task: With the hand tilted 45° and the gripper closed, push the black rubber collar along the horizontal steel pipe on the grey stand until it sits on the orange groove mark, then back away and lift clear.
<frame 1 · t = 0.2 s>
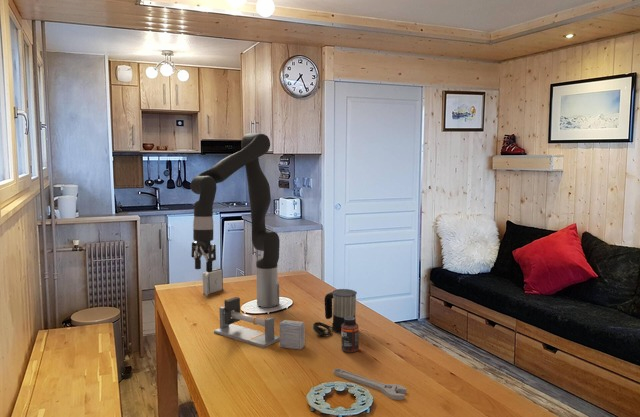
hand: (203, 270, 196), 22 cm above the table, tool pointing down, fingers open, 8 cm apart
supplement bottle: (349, 350, 176), on the table
pipe stand: (246, 336, 189), on the table
collar: (232, 310, 192), point 8 cm above the table, slide at -7.0 cm
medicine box: (292, 347, 179), on the table
adjustable wrench: (370, 385, 151), on the table
grey rectangular block: (212, 292, 246), on the table
milk frother: (335, 332, 193), on the table
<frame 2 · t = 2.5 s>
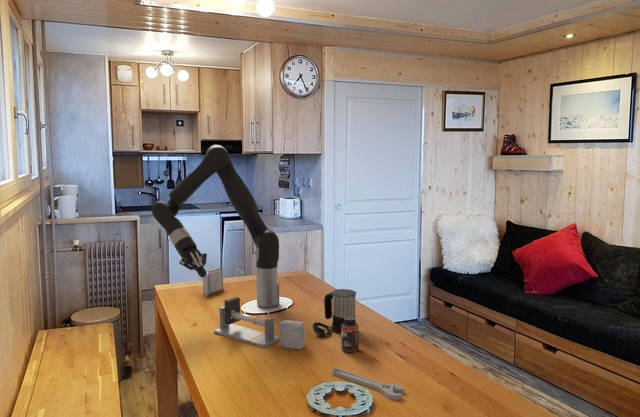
hand: (204, 276, 199), 19 cm above the table, tool tilted 45°, fingers closed
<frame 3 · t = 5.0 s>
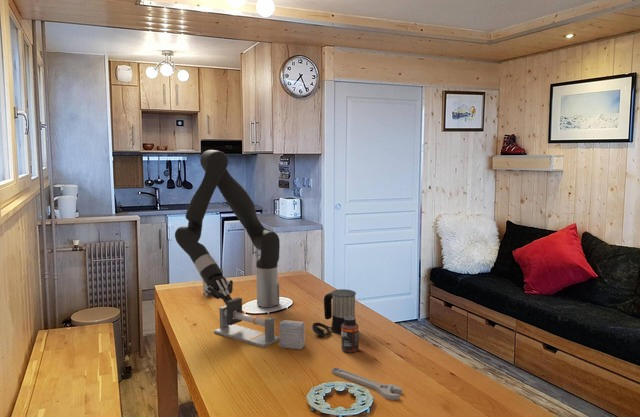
hand: (231, 305, 192), 10 cm above the table, tool tilted 45°, fingers closed
collar: (234, 311, 191), point 8 cm above the table, slide at -6.0 cm, touching gripper
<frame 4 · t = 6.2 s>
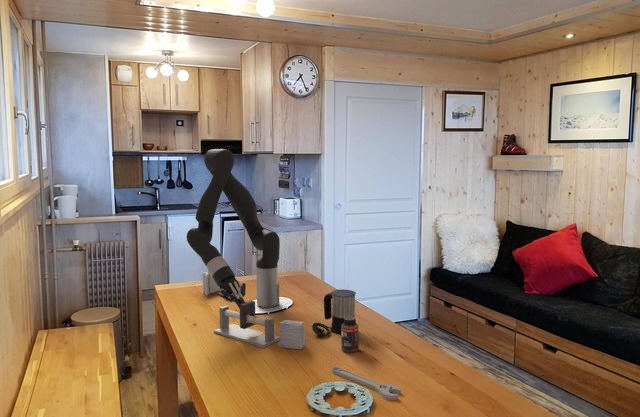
hand: (244, 308, 188), 10 cm above the table, tool tilted 45°, fingers closed
collar: (247, 314, 187), point 8 cm above the table, slide at 0.9 cm, touching gripper
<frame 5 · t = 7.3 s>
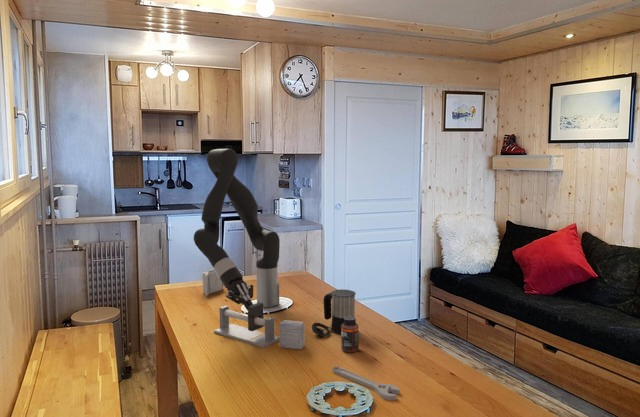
hand: (252, 310, 185), 10 cm above the table, tool tilted 45°, fingers closed
collar: (255, 316, 185), point 8 cm above the table, slide at 4.9 cm, touching gripper
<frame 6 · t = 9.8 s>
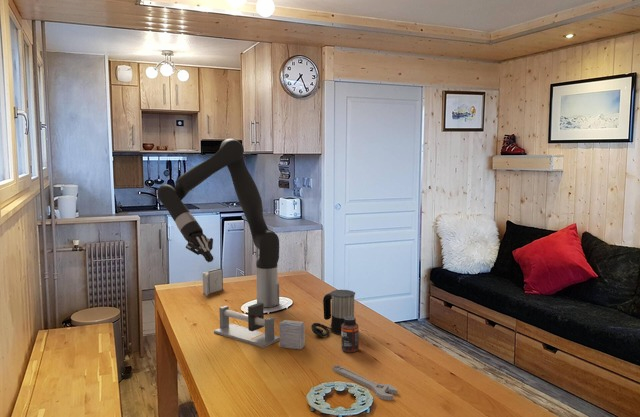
hand: (211, 260, 196), 26 cm above the table, tool tilted 45°, fingers closed
collar: (256, 316, 185), point 8 cm above the table, slide at 5.0 cm
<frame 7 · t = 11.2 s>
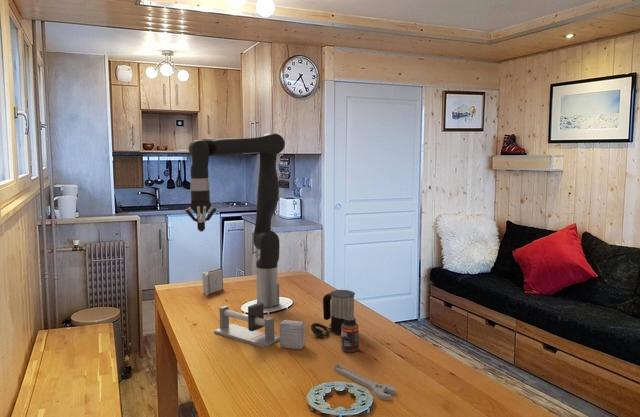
hand: (201, 231, 211), 35 cm above the table, tool pointing down, fingers closed
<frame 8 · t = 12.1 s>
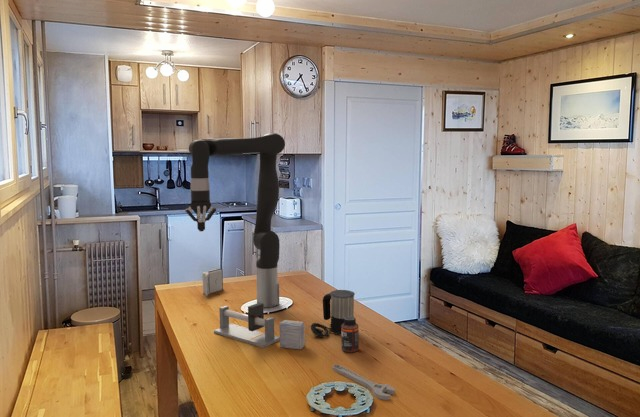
hand: (201, 231, 211), 35 cm above the table, tool pointing down, fingers closed
at the end: collar slide at 5.0 cm; the gripper is holding nothing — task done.
